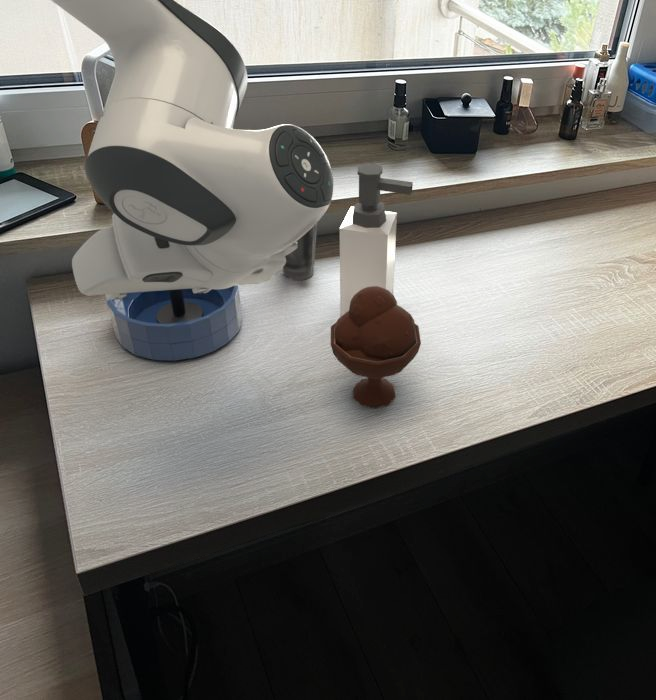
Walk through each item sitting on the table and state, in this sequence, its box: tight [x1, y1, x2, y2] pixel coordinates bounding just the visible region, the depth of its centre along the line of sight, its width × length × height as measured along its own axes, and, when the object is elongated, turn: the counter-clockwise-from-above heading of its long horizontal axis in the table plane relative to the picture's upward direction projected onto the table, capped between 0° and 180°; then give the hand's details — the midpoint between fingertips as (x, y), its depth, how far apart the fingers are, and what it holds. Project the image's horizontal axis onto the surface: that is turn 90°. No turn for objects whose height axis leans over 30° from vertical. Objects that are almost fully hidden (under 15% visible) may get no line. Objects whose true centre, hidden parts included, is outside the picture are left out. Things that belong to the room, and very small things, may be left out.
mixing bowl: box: [106, 285, 243, 362], centre depth 97 cm, size 16×16×6 cm
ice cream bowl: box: [330, 286, 422, 409], centre depth 88 cm, size 11×11×15 cm
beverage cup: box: [282, 222, 318, 281], centre depth 106 cm, size 7×7×20 cm
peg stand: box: [156, 289, 204, 324], centre depth 93 cm, size 6×6×18 cm
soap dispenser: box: [339, 162, 414, 317], centre depth 100 cm, size 6×9×22 cm
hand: (156, 289), depth 78 cm, fingers open, 8 cm apart
